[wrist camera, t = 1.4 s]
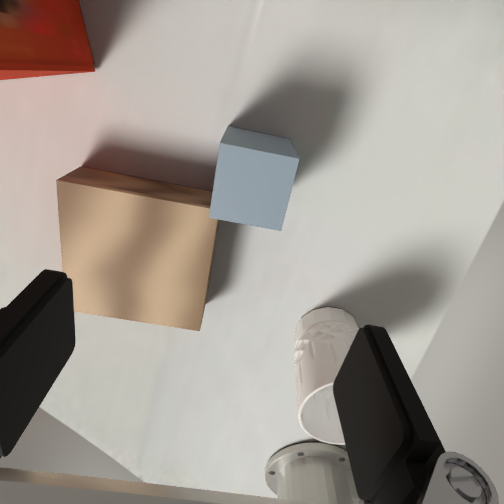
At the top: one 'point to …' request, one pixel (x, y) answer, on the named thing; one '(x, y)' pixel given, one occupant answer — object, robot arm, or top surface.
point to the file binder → (43, 39)
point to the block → (253, 178)
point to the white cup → (321, 369)
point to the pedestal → (136, 247)
